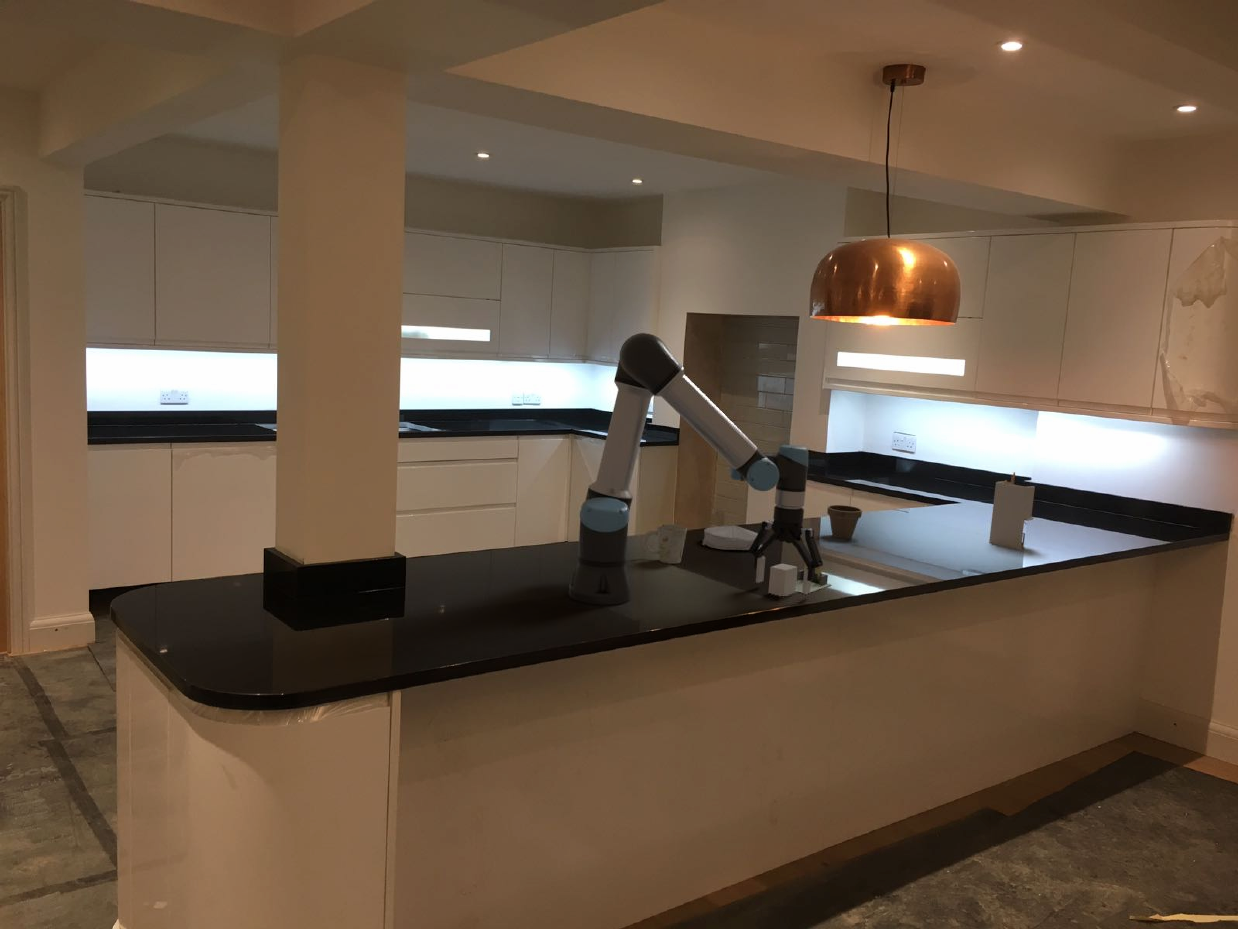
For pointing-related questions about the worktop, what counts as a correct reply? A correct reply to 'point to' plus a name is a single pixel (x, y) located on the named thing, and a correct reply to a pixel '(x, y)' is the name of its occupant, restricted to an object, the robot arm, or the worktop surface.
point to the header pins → (817, 574)
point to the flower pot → (843, 520)
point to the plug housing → (782, 580)
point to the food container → (729, 537)
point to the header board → (813, 586)
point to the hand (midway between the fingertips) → (782, 587)
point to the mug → (668, 542)
